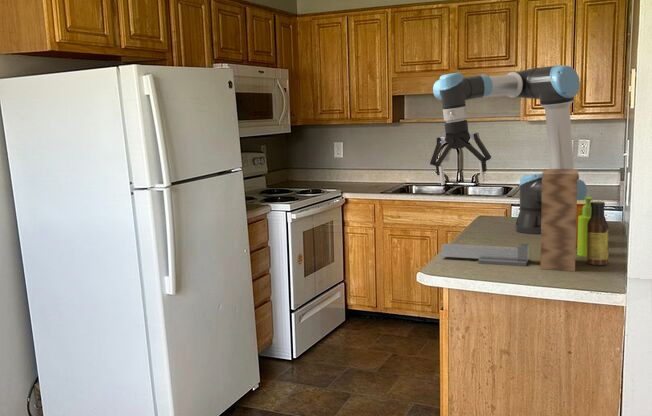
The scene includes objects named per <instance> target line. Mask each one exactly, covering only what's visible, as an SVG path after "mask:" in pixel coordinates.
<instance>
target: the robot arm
mask: <svg viewBox="0 0 652 416" xmlns="http://www.w3.org/2000/svg"><path fill="white" fill-rule="evenodd" d="M580 85H581V82H580V77H579V75H578V73H577V71H576V69H574V68H573V67H572V66H570V65H562V64H561V65H560V64H557V65H551V66H542V67H534V68H533V67H532V68H528V69H525V70H519V71H511V72H509V73H507V74H506V75H505V74H504V75H489V76H488V75H487V74H476V75H471V76H463V73H462V72H460V71H459V72H454V73H449V74H448V73H447V74H442V75H440V77H439V79H438V80H436V81H435V82H434V84H433V87H432V93H433V95H434V97H435V98H436V99H437V100H438V101H441V105H442V112H443V113H442V115H443V116H442V117H443V121H444V131H445V135H444V136H438V137H436V145H435V147H434V151H433V153H432V156H431V159H430V161H429V165H431V166H435V169H436V175H437V176H439V179H440V186H444V185H445V184H446V179H445V178H446V177H445V171H444V164H442V163H443V161H444V160H445V159H446V157H447V156H448V154H449V153H450V151H451V150H452V149H453V150H456V149H463V148H465V149H467V150H468V151H469V152H471V154H473V155H474V156H475V158H476V159H478V160H479V162H478V166H479V176H480V177H479V178H480V183H484V182H486V181H485V179H486V178H485V173H486V172H487V169H488V168H487V162H488V161H490V160H491V159H492V155H491V153H489V151H488V149H487V148H486V146H485V144H484V143H483V141H482V140H481V138H480V134H479V132H474V133H471V134H470V133H469V123H468V120H467V118H468V115H467V108H466V107H467V105H466V101H468V100H475V99H482V98H490V97H491V98H492V97H505V96H507V97H508V98H511V99H514V98H519V99H520V98H521V99H531V100H539V106H541V108H543V109H544V112H545V114H544V115H545V126H546V129H545V130H546V138H547V150H548V151H547V153H548V162H549V163H548V164H549V169H575V165H574V151H573V137H572V135H573V134H572V123H571V109H570V106H571V105H572V103H573V102H574V101H575V100H574V97H575V96H576V95H577V94H578V93H579V89H580V87H581V86H580ZM470 139H472V140H473V141H474V142H475V144H476V145H477V147H478V149H479V150H480V151H478V149H476V147H474V146H473V145H472V143H470ZM445 142H446V143H447V146H446V147H445V149H444V150H443V152H442V153H441V155H440V157H439V153H440V150H441V147H442V145H443V144H444V143H445ZM438 157H439V158H438ZM437 159H438V160H437ZM441 164H442V165H441ZM542 173H543V172H542ZM542 173H532V174H525V175H522V176H521V177H520V181H519V212H518V215H517V218H516V221H515V224H514V230H515V231H516V232H518V233H524V234H536V235H537V234H540V235H541V206H542ZM587 190H588V188H587V183H585V181H584V180H582V179H580V175H579V172H578V175H577V200H585V196H587V193H588V191H587Z"/></svg>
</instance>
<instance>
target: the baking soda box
mask: <svg viewBox="0 0 652 416" xmlns="http://www.w3.org/2000/svg"><path fill="white" fill-rule="evenodd" d="M591 202H594V200H593V199H592V201H591ZM584 205H585V200H577V214H576V248H577V244H578V216H581V215H582V209H583V206H584Z"/></svg>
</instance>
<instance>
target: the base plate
mask: <svg viewBox="0 0 652 416" xmlns="http://www.w3.org/2000/svg"><path fill="white" fill-rule="evenodd" d="M477 263H478V264H482V265H483V264H484V265H496V266H497V265H500V266H518V267H527V264H528V262H526V261H516V260H498V259H480V258H478V260H477Z"/></svg>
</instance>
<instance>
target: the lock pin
mask: <svg viewBox="0 0 652 416" xmlns="http://www.w3.org/2000/svg"><path fill="white" fill-rule="evenodd" d="M440 247H441V248H440V250H441V251H440V254H441V255H440V256H441V257H446V258H461V259H463V258H466V259H467V258H468V259H479V258H480V259H498V260H516V261H526V262H527V263H528V262H529V258H530V257H529V256H530V253H529V252H530V244H529V243H523V242H522V243H518V246H517V247H516V246H502V245H501V246H500V245H499V246H498V245H496V246H495V245H481V244H479V245H477V244H457V243H456V244H454V243H443V244H441V246H440Z"/></svg>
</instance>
